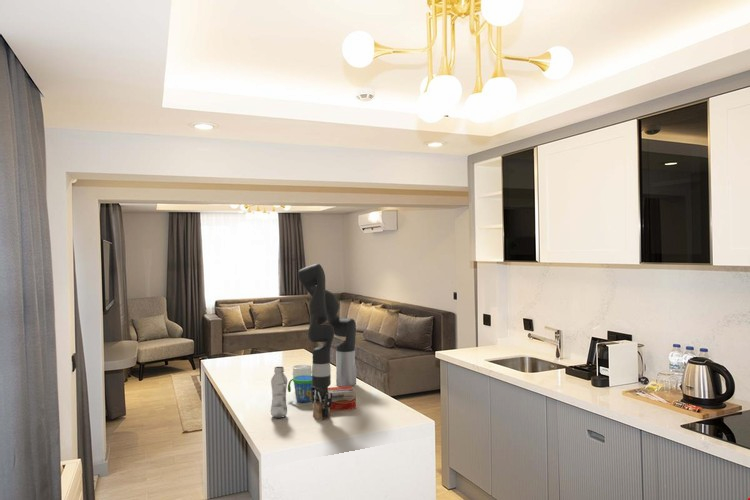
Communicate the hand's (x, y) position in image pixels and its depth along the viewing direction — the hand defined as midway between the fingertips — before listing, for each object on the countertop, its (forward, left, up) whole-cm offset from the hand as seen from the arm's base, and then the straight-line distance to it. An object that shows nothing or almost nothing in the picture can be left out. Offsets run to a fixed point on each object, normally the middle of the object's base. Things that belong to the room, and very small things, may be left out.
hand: (321, 415), depth 206 cm
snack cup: (-5, -25, -1) cm, 26 cm away
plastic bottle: (+14, -10, -1) cm, 17 cm away
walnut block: (0, 0, -1) cm, 1 cm away
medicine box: (-12, -8, -1) cm, 14 cm away
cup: (-10, -38, -1) cm, 39 cm away
